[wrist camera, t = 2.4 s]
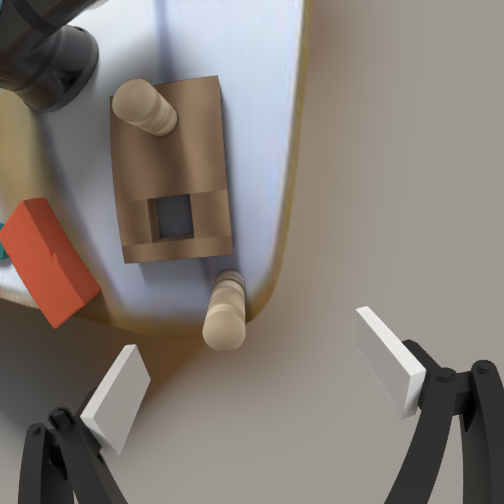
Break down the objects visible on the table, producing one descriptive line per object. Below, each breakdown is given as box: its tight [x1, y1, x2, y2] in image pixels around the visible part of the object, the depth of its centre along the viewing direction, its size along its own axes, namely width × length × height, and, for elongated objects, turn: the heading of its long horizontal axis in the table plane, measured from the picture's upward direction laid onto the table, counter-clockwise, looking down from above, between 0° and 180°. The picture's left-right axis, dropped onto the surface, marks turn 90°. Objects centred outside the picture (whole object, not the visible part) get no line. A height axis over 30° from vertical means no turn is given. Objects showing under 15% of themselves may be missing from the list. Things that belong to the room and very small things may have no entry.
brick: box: [0, 197, 101, 328], centre depth 35 cm, size 18×9×6 cm, turn 33°
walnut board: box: [110, 75, 233, 264], centre depth 28 cm, size 14×22×14 cm, turn 5°
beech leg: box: [203, 269, 246, 352], centre depth 32 cm, size 4×4×14 cm
